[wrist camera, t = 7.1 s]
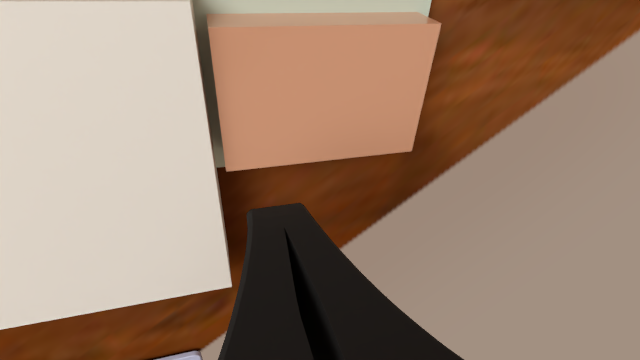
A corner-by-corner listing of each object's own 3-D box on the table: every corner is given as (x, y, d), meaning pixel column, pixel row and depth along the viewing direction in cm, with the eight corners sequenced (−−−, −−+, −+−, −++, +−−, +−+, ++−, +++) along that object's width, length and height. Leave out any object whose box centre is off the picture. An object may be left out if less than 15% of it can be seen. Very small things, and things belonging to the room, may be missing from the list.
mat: (397, 144, 21) (400, 147, 20) (216, 163, 18) (216, 167, 18) (453, -133, 14) (459, -133, 13) (169, -162, 11) (169, -164, 11)
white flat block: (227, 246, 22) (231, 286, 20) (-9, 283, 19) (-37, 336, 17) (190, -16, 14) (189, 1, 11) (-240, -20, 11) (-359, 1, 8)
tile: (394, 131, 20) (411, 151, 18) (223, 148, 18) (226, 171, 16) (417, 11, 16) (441, 23, 15) (206, 13, 14) (208, 27, 12)
